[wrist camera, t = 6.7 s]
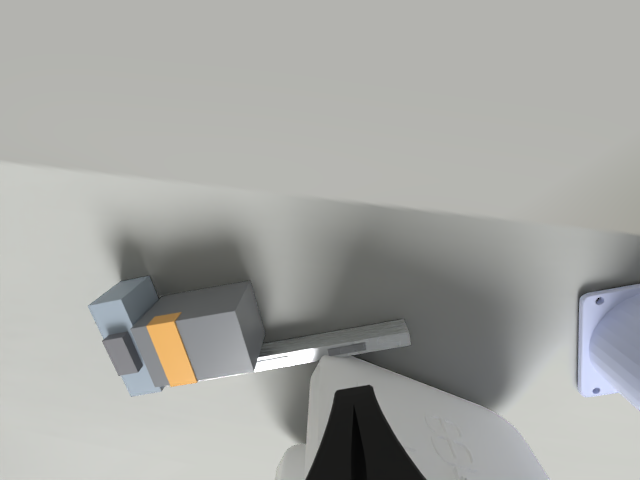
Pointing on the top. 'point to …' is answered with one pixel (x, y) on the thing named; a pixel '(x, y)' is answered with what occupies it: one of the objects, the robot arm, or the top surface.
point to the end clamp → (126, 330)
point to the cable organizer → (418, 427)
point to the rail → (332, 345)
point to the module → (201, 335)
